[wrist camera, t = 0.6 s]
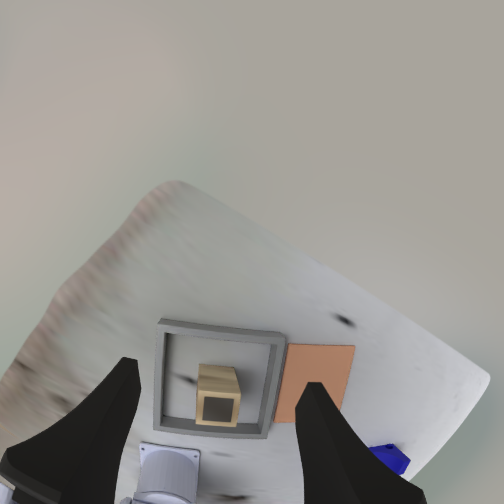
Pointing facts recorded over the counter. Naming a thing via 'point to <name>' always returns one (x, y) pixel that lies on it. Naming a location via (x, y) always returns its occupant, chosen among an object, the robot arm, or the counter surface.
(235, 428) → the parts tray
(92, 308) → the counter surface
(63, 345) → the counter surface
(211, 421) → the part block
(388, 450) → the cable clip
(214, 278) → the counter surface
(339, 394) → the place mat
